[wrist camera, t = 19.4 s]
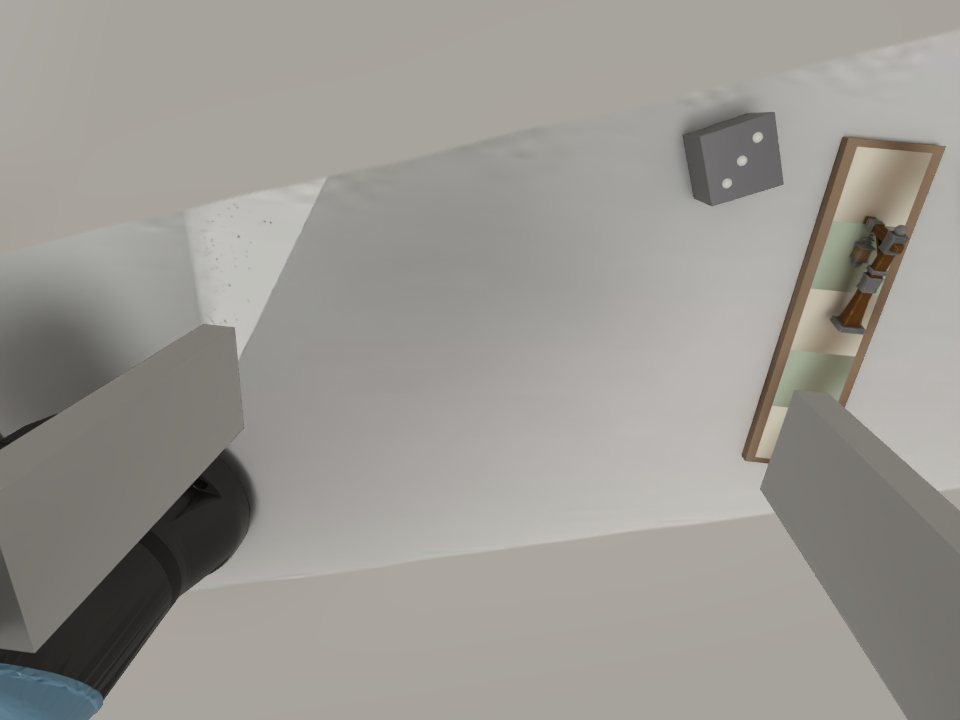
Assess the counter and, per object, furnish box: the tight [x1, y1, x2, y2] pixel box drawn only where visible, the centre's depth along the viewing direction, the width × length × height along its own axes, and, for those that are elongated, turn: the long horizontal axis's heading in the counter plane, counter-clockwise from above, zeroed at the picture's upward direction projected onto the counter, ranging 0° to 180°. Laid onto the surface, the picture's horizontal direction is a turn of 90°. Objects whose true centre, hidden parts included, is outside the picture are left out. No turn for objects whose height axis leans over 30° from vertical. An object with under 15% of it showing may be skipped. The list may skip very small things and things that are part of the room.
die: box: [682, 112, 784, 206], centre depth 38 cm, size 5×4×5 cm
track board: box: [742, 137, 946, 463], centre depth 43 cm, size 6×26×1 cm, turn 175°
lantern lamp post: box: [829, 216, 910, 335], centre depth 39 cm, size 4×2×8 cm
